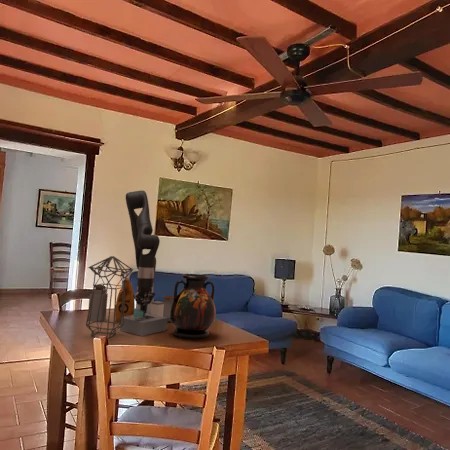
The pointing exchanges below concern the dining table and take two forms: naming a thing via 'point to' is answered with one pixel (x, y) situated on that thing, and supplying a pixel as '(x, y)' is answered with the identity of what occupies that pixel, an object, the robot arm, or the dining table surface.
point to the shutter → (136, 315)
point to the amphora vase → (193, 307)
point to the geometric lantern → (106, 293)
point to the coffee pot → (167, 306)
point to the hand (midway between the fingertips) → (143, 313)
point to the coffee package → (129, 301)
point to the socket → (145, 325)
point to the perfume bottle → (96, 304)
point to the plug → (157, 308)
